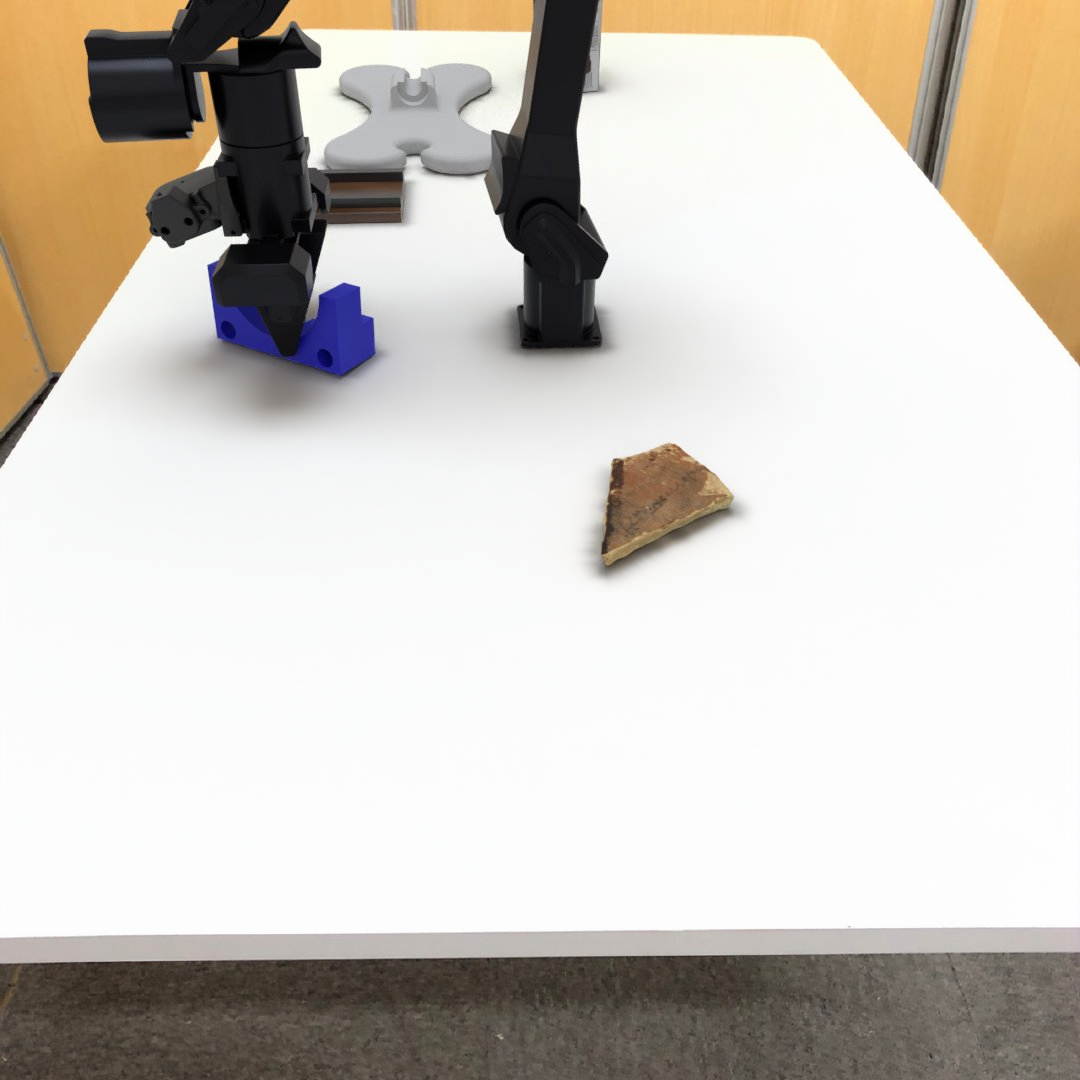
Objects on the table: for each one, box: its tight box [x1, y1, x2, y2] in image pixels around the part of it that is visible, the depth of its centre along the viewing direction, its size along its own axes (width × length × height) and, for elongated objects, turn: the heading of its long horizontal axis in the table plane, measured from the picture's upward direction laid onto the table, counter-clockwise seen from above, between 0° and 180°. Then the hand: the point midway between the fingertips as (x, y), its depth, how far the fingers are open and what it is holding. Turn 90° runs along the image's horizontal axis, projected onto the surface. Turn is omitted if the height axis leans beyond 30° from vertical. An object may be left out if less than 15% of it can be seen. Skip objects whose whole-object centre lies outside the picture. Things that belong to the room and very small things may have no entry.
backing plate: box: [315, 167, 406, 224], centre depth 105 cm, size 10×15×2 cm, turn 94°
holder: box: [323, 62, 492, 175], centre depth 123 cm, size 19×34×5 cm, turn 5°
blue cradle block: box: [206, 259, 376, 376], centre depth 82 cm, size 12×4×6 cm, turn 62°
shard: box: [600, 442, 735, 566], centre depth 68 cm, size 11×8×2 cm
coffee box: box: [532, 0, 604, 93], centre depth 131 cm, size 9×6×16 cm
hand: (292, 336), depth 83 cm, fingers closed on blue cradle block, 5 cm apart
